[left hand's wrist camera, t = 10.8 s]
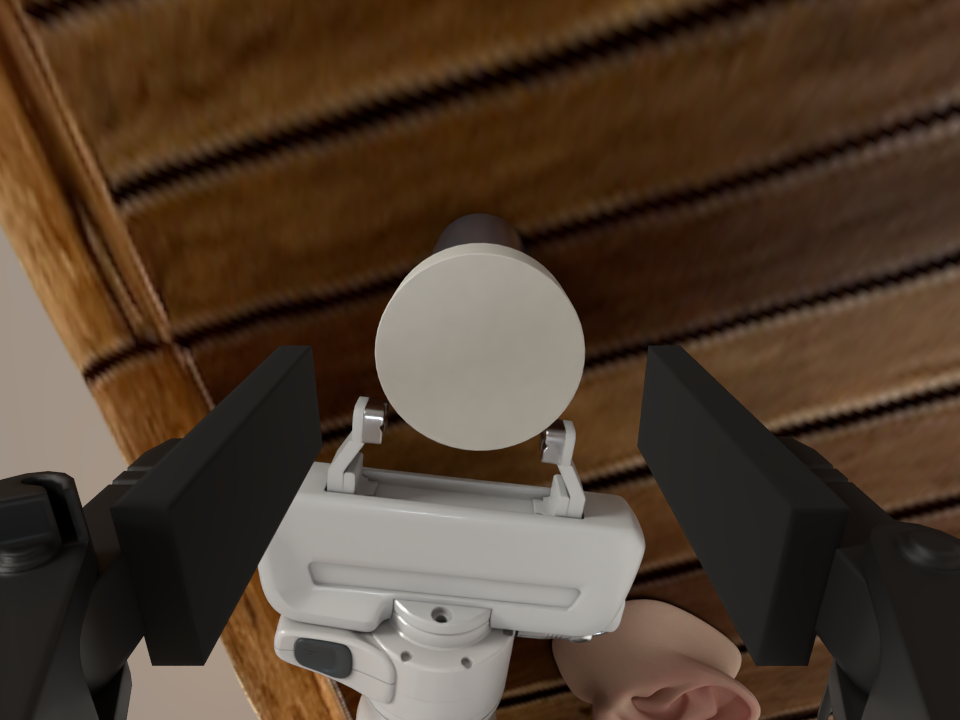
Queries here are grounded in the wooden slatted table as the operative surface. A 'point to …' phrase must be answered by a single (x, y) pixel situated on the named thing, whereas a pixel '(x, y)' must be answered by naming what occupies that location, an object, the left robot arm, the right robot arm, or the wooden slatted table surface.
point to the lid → (480, 348)
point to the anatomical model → (657, 668)
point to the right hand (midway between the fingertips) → (466, 413)
